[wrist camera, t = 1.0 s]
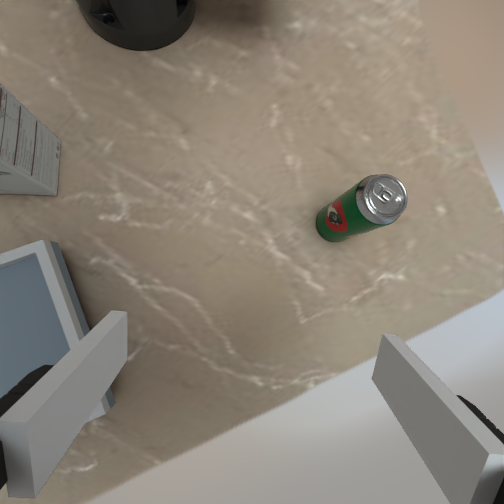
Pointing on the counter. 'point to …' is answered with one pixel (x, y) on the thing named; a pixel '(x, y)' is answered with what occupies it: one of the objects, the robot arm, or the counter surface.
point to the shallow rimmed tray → (38, 315)
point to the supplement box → (26, 151)
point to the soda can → (363, 208)
